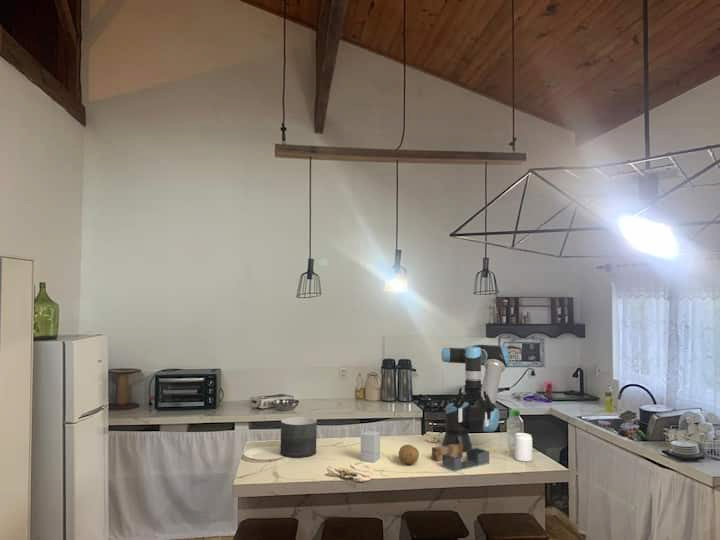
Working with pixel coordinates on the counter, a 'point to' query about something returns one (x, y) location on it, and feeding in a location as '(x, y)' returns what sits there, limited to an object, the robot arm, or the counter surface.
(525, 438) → the beverage can
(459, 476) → the counter surface
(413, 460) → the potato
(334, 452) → the counter surface
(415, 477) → the counter surface
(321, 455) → the counter surface
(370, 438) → the supplement box
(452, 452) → the slat
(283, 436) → the planter
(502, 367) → the robot arm
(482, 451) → the grey notched block
